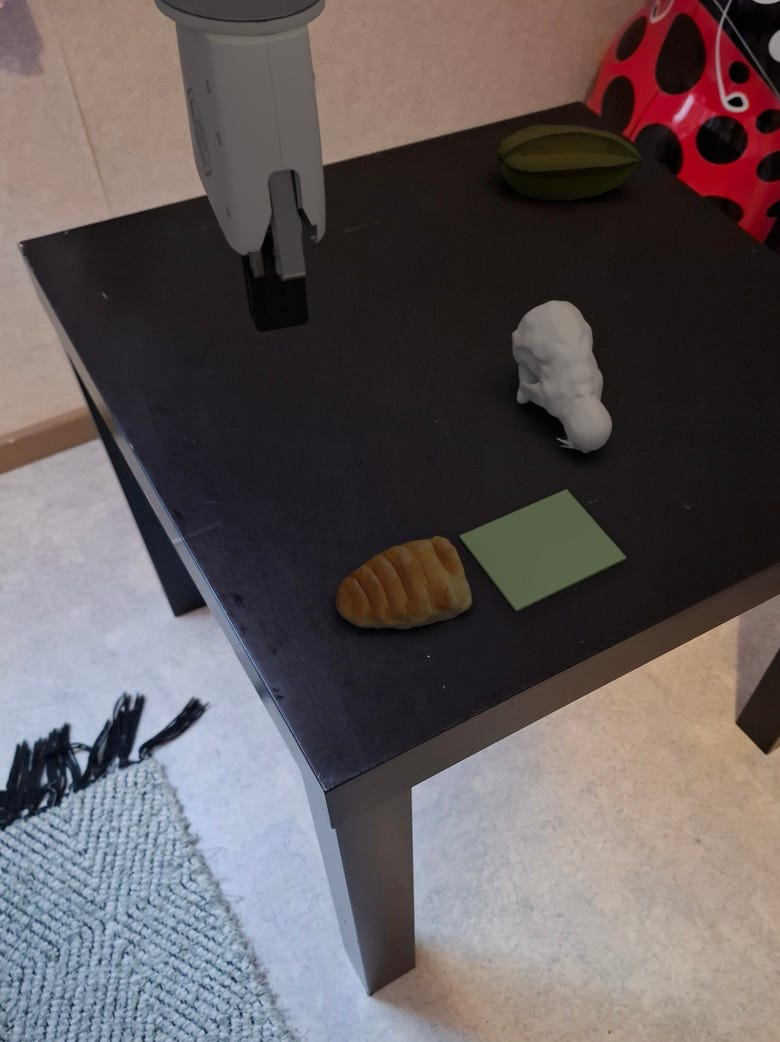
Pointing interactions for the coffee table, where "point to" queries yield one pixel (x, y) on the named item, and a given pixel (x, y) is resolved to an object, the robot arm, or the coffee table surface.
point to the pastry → (406, 587)
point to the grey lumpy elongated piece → (562, 372)
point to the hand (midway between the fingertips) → (279, 319)
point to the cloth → (541, 549)
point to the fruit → (565, 161)
